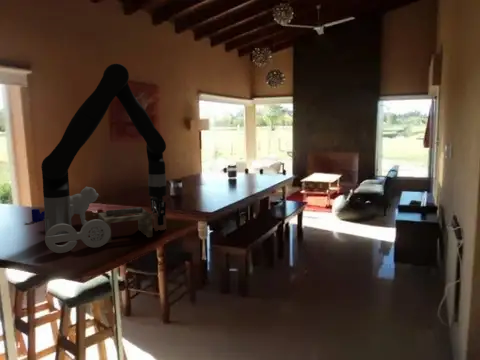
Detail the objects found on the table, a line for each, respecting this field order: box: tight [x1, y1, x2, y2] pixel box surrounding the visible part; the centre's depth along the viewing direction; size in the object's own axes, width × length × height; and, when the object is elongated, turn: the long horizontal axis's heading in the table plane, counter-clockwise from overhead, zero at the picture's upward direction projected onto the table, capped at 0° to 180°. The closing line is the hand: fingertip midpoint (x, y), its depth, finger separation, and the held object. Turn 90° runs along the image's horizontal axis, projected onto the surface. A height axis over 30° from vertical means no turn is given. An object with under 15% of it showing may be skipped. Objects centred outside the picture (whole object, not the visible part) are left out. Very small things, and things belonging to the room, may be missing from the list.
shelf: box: [97, 206, 154, 244], centre depth 164 cm, size 18×14×11 cm
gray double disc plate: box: [44, 218, 112, 254], centre depth 146 cm, size 22×2×10 cm, turn 123°
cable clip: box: [31, 208, 45, 223], centre depth 196 cm, size 12×4×6 cm, turn 171°
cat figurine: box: [43, 186, 101, 227], centre depth 182 cm, size 25×10×17 cm, turn 129°
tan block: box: [150, 211, 167, 232], centre depth 175 cm, size 5×6×7 cm
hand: (158, 223), depth 175 cm, fingers closed on tan block, 5 cm apart
